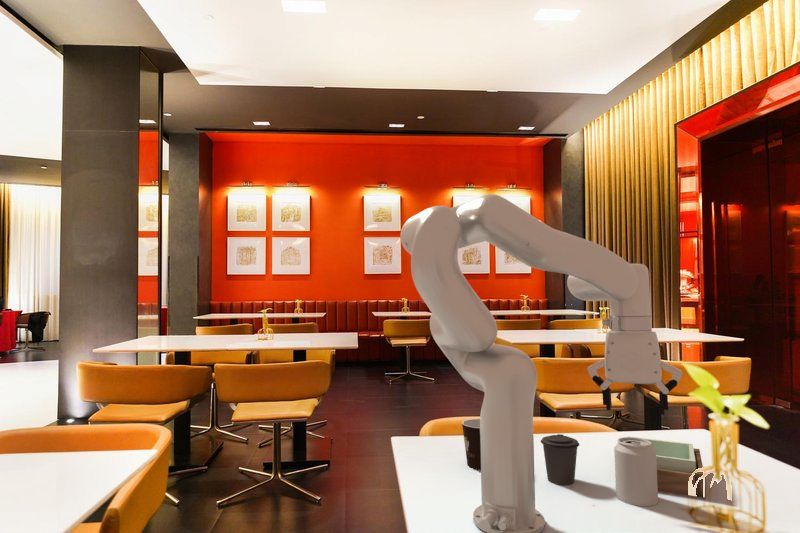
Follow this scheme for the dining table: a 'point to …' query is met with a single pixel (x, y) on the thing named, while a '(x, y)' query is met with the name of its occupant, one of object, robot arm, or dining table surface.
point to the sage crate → (674, 455)
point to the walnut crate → (680, 479)
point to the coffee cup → (560, 458)
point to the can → (636, 471)
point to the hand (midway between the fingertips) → (635, 411)
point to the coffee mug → (472, 442)
